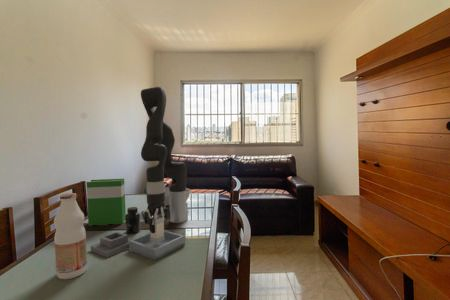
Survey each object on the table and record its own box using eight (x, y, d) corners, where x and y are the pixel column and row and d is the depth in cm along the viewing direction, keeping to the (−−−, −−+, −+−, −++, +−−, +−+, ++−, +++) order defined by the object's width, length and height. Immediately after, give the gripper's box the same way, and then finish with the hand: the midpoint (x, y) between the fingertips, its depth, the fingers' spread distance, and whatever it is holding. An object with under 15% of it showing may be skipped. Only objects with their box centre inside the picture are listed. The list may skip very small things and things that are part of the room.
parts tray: (159, 236, 120) (159, 228, 120) (184, 244, 111) (184, 235, 111) (129, 250, 107) (128, 240, 107) (155, 260, 98) (155, 250, 97)
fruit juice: (60, 283, 83) (56, 199, 82) (53, 273, 89) (48, 194, 88) (91, 271, 90) (87, 193, 88) (82, 263, 96) (78, 190, 95)
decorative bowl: (187, 215, 153) (186, 195, 152) (143, 215, 153) (142, 196, 153) (193, 203, 180) (193, 186, 179) (156, 204, 180) (155, 187, 180)
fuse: (157, 238, 112) (157, 215, 111) (164, 240, 109) (163, 217, 109) (150, 241, 108) (149, 218, 108) (156, 243, 106) (156, 219, 105)
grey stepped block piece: (120, 239, 119) (120, 228, 118) (136, 244, 112) (136, 233, 112) (90, 250, 107) (90, 238, 107) (107, 257, 100) (106, 245, 100)
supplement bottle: (125, 234, 124) (124, 210, 123) (126, 230, 130) (125, 207, 130) (139, 233, 125) (139, 209, 125) (140, 228, 132) (139, 205, 131)
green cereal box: (88, 226, 137) (86, 182, 136) (93, 221, 145) (91, 179, 143) (122, 223, 140) (120, 180, 138) (125, 219, 147) (124, 178, 146)
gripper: (162, 187, 116) (163, 224, 117) (135, 193, 104) (137, 234, 105) (174, 189, 111) (175, 227, 112) (148, 195, 100) (149, 238, 101)
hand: (157, 230), depth 109 cm, fingers closed on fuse, 4 cm apart
